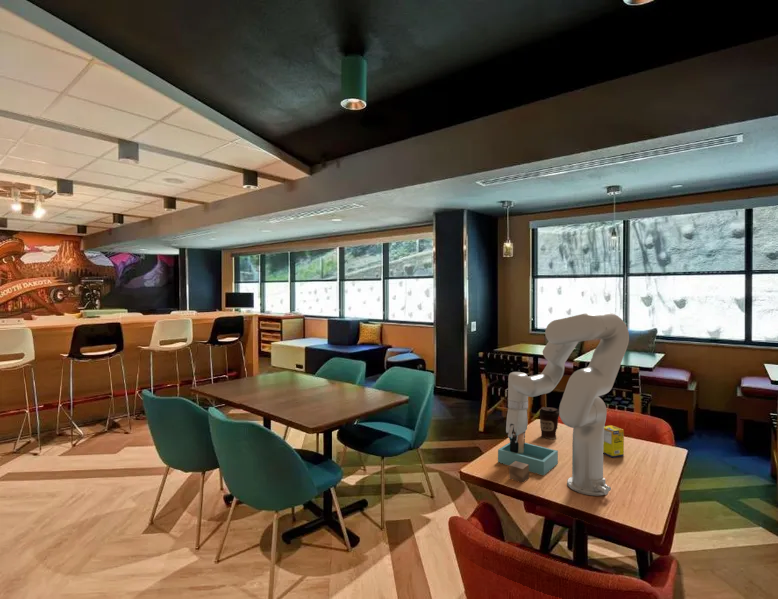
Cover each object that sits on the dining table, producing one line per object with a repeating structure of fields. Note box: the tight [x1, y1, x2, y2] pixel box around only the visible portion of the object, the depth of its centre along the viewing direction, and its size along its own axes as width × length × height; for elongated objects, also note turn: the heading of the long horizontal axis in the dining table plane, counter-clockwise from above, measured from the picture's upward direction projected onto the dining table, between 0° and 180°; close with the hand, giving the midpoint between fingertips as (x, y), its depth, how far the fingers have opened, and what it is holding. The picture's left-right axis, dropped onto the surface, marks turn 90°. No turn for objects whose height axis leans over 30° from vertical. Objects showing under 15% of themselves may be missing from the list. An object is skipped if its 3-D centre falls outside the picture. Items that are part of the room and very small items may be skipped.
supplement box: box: [603, 424, 625, 459], centre depth 172 cm, size 6×6×11 cm
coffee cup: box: [538, 406, 560, 440], centre depth 192 cm, size 9×8×13 cm
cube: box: [508, 461, 530, 483], centre depth 150 cm, size 5×5×5 cm
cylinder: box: [513, 432, 525, 454], centre depth 167 cm, size 5×5×7 cm
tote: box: [497, 442, 559, 476], centre depth 164 cm, size 18×14×5 cm
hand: (517, 449), depth 167 cm, fingers closed on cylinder, 4 cm apart
